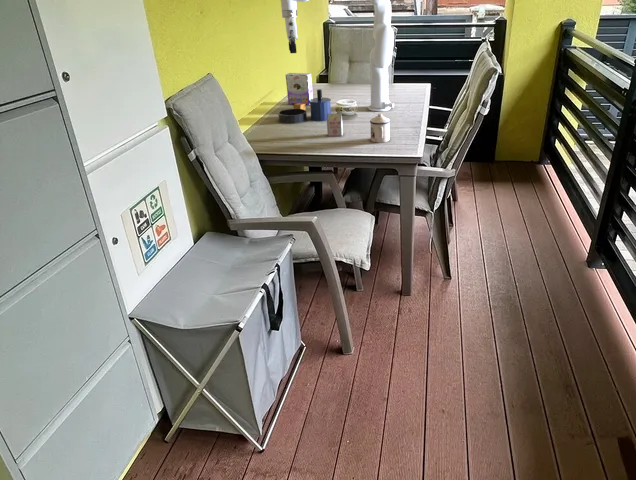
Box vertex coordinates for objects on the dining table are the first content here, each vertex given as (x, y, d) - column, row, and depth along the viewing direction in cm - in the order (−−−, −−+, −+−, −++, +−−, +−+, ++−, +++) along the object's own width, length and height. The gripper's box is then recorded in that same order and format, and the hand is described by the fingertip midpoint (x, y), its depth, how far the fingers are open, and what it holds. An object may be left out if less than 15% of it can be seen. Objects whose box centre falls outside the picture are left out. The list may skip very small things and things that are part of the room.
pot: (334, 117, 282) (333, 99, 278) (323, 121, 275) (322, 104, 270) (318, 115, 287) (317, 97, 282) (307, 119, 280) (305, 102, 275)
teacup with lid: (369, 137, 249) (369, 111, 242) (388, 136, 249) (389, 111, 243) (371, 145, 239) (371, 118, 232) (391, 144, 239) (392, 117, 233)
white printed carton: (328, 134, 256) (327, 112, 250) (342, 134, 255) (341, 112, 250) (327, 136, 253) (326, 114, 247) (341, 136, 252) (340, 114, 247)
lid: (335, 100, 278) (334, 88, 275) (322, 105, 270) (322, 92, 267) (317, 98, 283) (316, 86, 280) (304, 103, 275) (303, 91, 272)
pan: (312, 118, 282) (311, 110, 280) (295, 124, 272) (295, 116, 270) (290, 115, 289) (289, 107, 287) (273, 121, 278) (272, 113, 276)
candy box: (313, 103, 311) (311, 73, 302) (309, 105, 306) (307, 74, 298) (292, 102, 315) (289, 72, 306) (287, 104, 310) (285, 74, 302)
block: (305, 111, 294) (305, 103, 291) (301, 113, 291) (300, 105, 288) (299, 111, 296) (298, 102, 293) (294, 112, 293) (293, 104, 290)
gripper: (298, 15, 257) (301, 53, 266) (296, 12, 271) (299, 49, 281) (282, 15, 256) (286, 54, 265) (281, 12, 270) (284, 49, 280)
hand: (292, 51), depth 273 cm, fingers open, 9 cm apart
